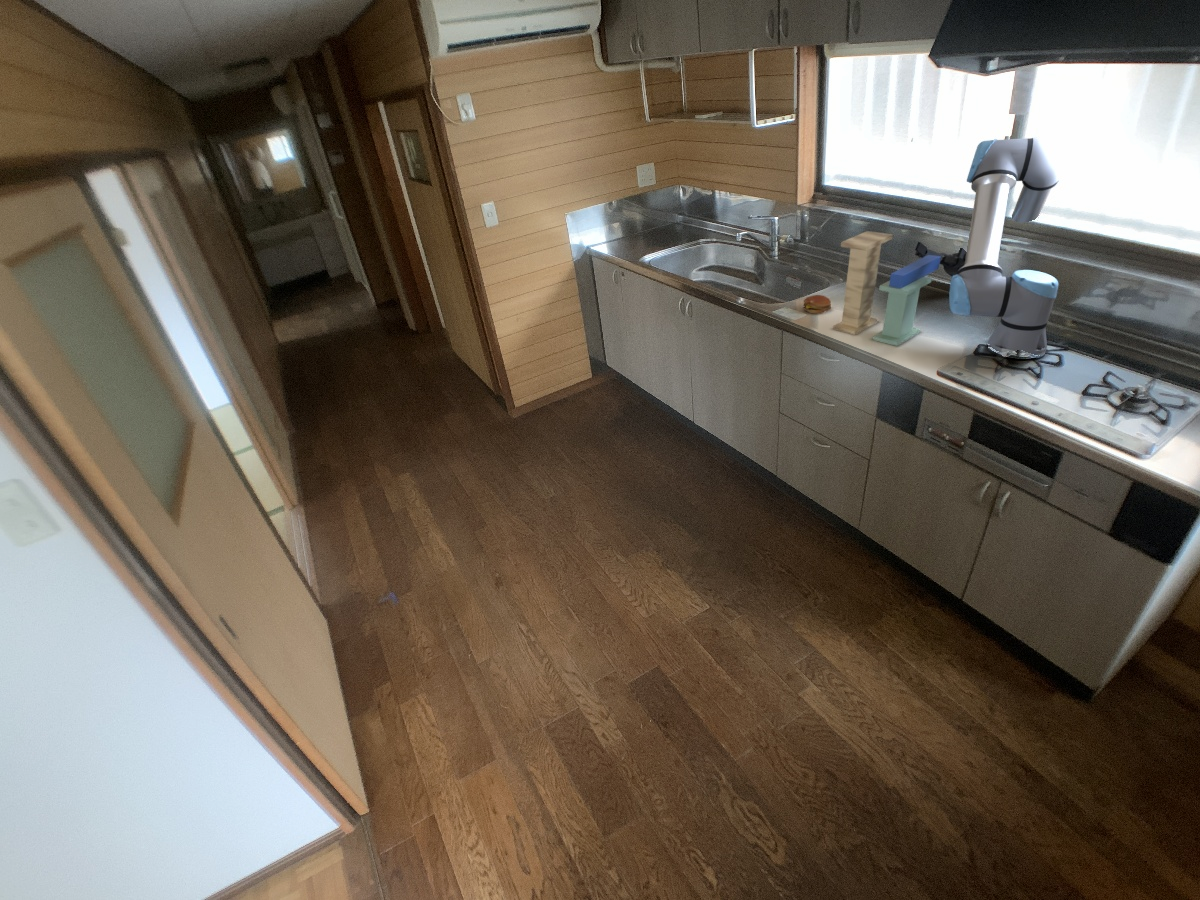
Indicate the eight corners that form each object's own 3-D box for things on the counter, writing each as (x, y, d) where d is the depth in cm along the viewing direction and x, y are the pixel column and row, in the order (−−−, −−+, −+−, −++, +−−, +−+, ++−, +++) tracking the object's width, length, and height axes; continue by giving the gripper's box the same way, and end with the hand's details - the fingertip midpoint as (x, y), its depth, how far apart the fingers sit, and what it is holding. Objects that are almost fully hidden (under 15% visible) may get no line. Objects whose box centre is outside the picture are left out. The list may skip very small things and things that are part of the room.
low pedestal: (895, 325, 209) (904, 272, 199) (921, 332, 203) (932, 277, 193) (871, 340, 202) (879, 285, 192) (897, 346, 196) (907, 291, 186)
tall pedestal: (855, 316, 220) (867, 231, 203) (879, 321, 214) (892, 234, 197) (831, 329, 212) (841, 242, 196) (854, 335, 206) (866, 246, 190)
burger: (832, 306, 230) (834, 294, 227) (827, 315, 223) (828, 303, 221) (806, 304, 234) (807, 292, 232) (799, 312, 228) (800, 300, 225)
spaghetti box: (926, 266, 202) (928, 254, 200) (938, 268, 199) (941, 256, 197) (888, 286, 191) (890, 273, 189) (901, 288, 188) (903, 275, 186)
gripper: (991, 283, 205) (973, 266, 191) (918, 271, 222) (896, 254, 208) (1001, 261, 204) (983, 242, 189) (927, 250, 221) (905, 232, 206)
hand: (938, 249), depth 198 cm, fingers open, 13 cm apart
